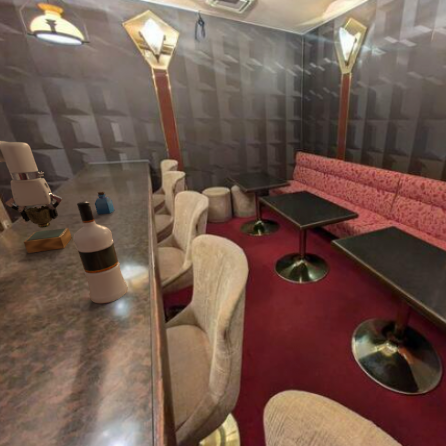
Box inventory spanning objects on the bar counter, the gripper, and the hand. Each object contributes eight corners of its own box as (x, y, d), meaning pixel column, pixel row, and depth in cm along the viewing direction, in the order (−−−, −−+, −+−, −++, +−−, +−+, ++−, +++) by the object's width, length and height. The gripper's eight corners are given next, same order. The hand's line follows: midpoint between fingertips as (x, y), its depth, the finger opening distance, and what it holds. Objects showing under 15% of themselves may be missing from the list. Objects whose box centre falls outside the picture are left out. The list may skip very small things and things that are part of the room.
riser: (28, 253, 98) (23, 241, 96) (39, 242, 107) (34, 231, 105) (64, 248, 103) (60, 236, 101) (71, 238, 112) (68, 227, 110)
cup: (30, 231, 97) (22, 212, 94) (33, 225, 102) (25, 207, 99) (56, 227, 101) (49, 208, 98) (57, 222, 106) (51, 204, 103)
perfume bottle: (97, 214, 141) (91, 193, 137) (102, 210, 147) (97, 191, 142) (110, 213, 143) (105, 193, 139) (114, 210, 148) (109, 190, 144)
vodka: (83, 303, 72) (48, 206, 61) (108, 285, 81) (81, 196, 70) (113, 306, 72) (84, 208, 61) (135, 287, 80) (113, 198, 69)
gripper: (59, 173, 101) (72, 213, 107) (-2, 175, 93) (16, 219, 99) (52, 176, 95) (66, 219, 101) (-13, 179, 87) (7, 225, 93)
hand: (41, 219), depth 100 cm, fingers closed on cup, 7 cm apart
